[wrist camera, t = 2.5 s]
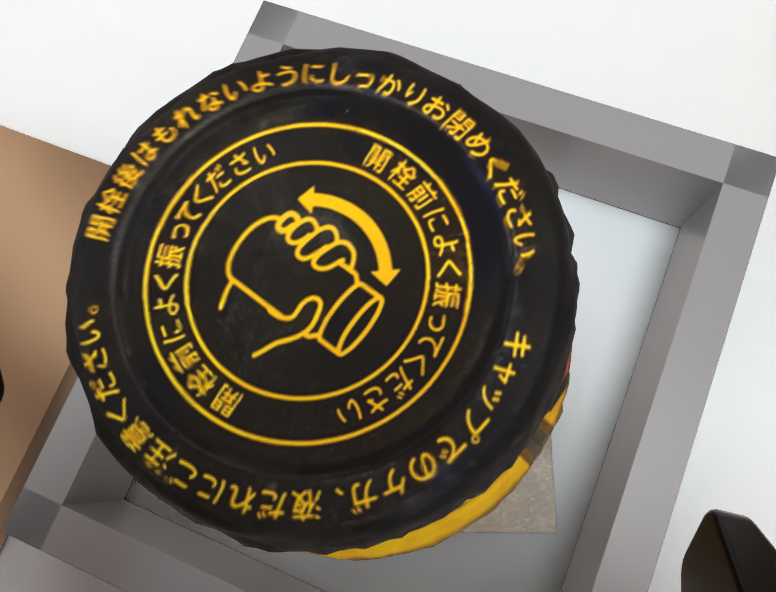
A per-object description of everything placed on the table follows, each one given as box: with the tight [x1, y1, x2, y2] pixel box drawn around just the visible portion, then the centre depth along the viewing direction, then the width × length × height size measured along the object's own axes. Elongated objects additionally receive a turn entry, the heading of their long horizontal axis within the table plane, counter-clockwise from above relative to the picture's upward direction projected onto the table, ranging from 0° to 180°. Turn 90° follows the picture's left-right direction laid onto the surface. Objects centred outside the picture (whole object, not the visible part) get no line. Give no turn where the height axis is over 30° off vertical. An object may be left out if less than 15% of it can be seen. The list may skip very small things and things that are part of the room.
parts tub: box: [2, 1, 776, 592], centre depth 17 cm, size 14×13×3 cm
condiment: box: [65, 47, 580, 561], centre depth 13 cm, size 7×8×12 cm
